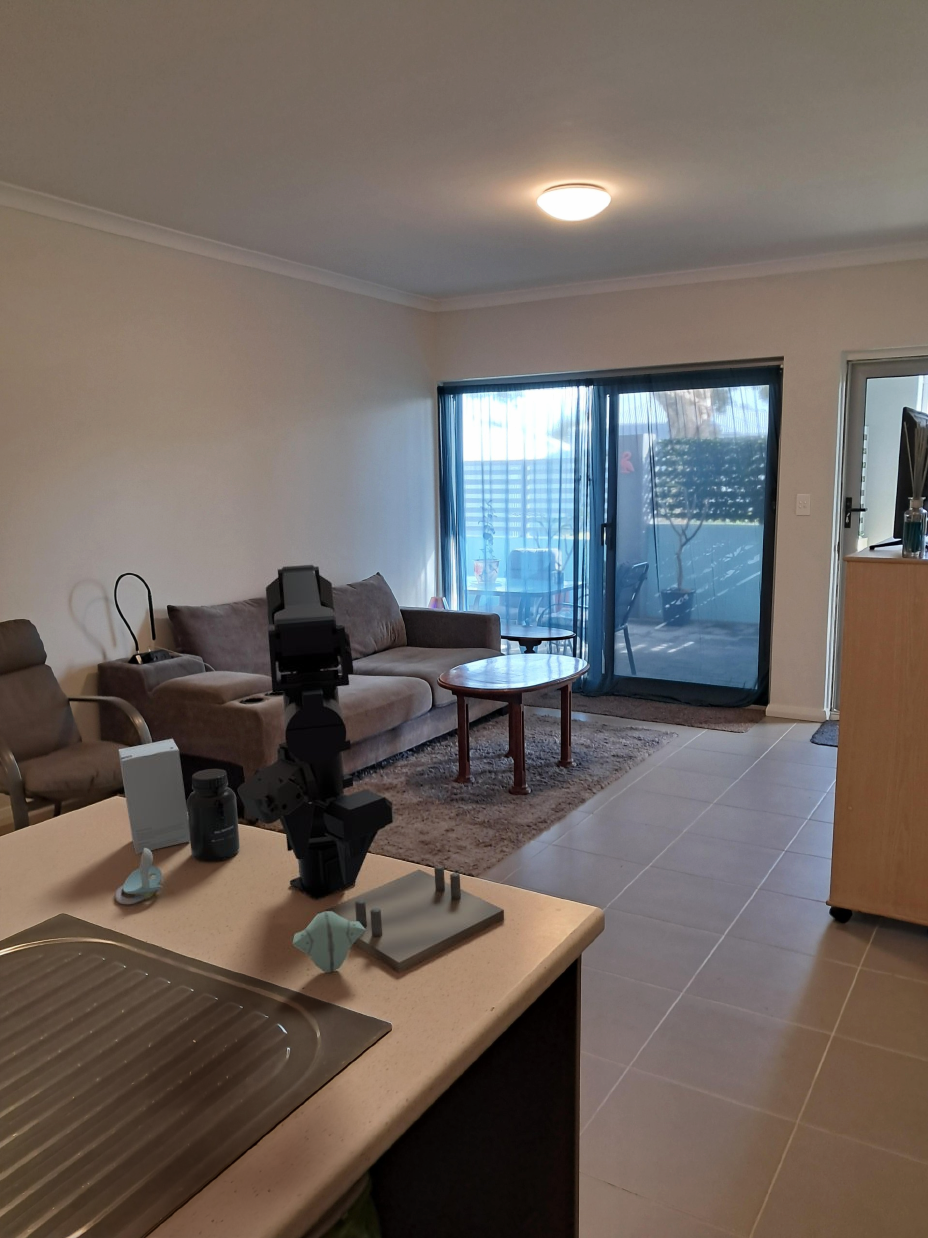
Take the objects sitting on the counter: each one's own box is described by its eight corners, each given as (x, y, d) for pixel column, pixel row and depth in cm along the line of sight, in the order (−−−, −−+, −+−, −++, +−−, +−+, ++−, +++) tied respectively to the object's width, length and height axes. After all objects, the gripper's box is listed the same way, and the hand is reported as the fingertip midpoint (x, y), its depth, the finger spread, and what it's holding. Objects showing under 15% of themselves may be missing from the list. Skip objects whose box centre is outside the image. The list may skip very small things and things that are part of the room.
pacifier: (114, 912, 120) (163, 902, 121) (106, 867, 118) (156, 857, 120) (117, 888, 127) (163, 878, 128) (110, 844, 125) (157, 836, 127)
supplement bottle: (227, 864, 131) (219, 783, 129) (183, 862, 133) (174, 782, 131) (248, 844, 138) (241, 766, 136) (205, 842, 139) (197, 765, 137)
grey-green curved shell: (296, 987, 100) (291, 929, 99) (291, 968, 104) (286, 912, 103) (369, 972, 103) (365, 915, 102) (362, 953, 107) (358, 898, 105)
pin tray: (318, 922, 114) (315, 890, 113) (419, 877, 125) (417, 848, 124) (399, 972, 102) (397, 937, 102) (504, 919, 113) (502, 886, 112)
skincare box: (186, 829, 144) (176, 737, 142) (191, 843, 139) (181, 747, 136) (128, 841, 141) (117, 746, 138) (132, 856, 136) (120, 758, 133)
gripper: (201, 733, 100) (215, 870, 103) (297, 773, 86) (310, 929, 89) (290, 710, 107) (301, 838, 110) (392, 743, 94) (401, 888, 97)
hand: (324, 871), depth 101 cm, fingers open, 9 cm apart
